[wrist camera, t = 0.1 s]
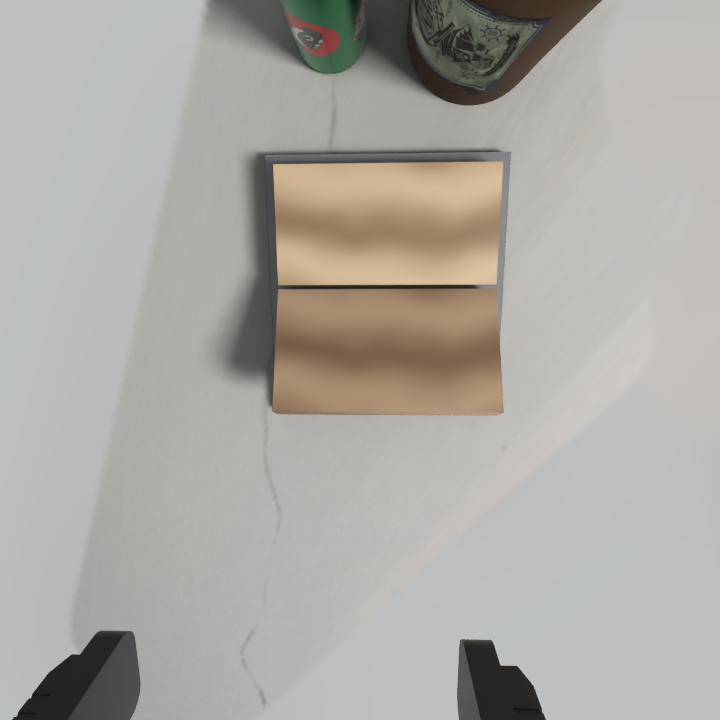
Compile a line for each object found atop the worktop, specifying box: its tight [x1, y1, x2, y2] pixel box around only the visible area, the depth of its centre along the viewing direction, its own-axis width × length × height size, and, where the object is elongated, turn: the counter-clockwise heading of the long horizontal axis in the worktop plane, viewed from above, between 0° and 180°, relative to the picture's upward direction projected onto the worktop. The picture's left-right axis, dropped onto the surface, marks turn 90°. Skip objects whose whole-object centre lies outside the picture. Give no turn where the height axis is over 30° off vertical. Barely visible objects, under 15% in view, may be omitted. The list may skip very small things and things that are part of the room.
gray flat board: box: [265, 152, 511, 364], centre depth 38 cm, size 20×18×1 cm
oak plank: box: [273, 162, 503, 285], centre depth 35 cm, size 8×16×2 cm, turn 90°
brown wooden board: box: [272, 289, 504, 415], centre depth 35 cm, size 9×16×2 cm, turn 90°
